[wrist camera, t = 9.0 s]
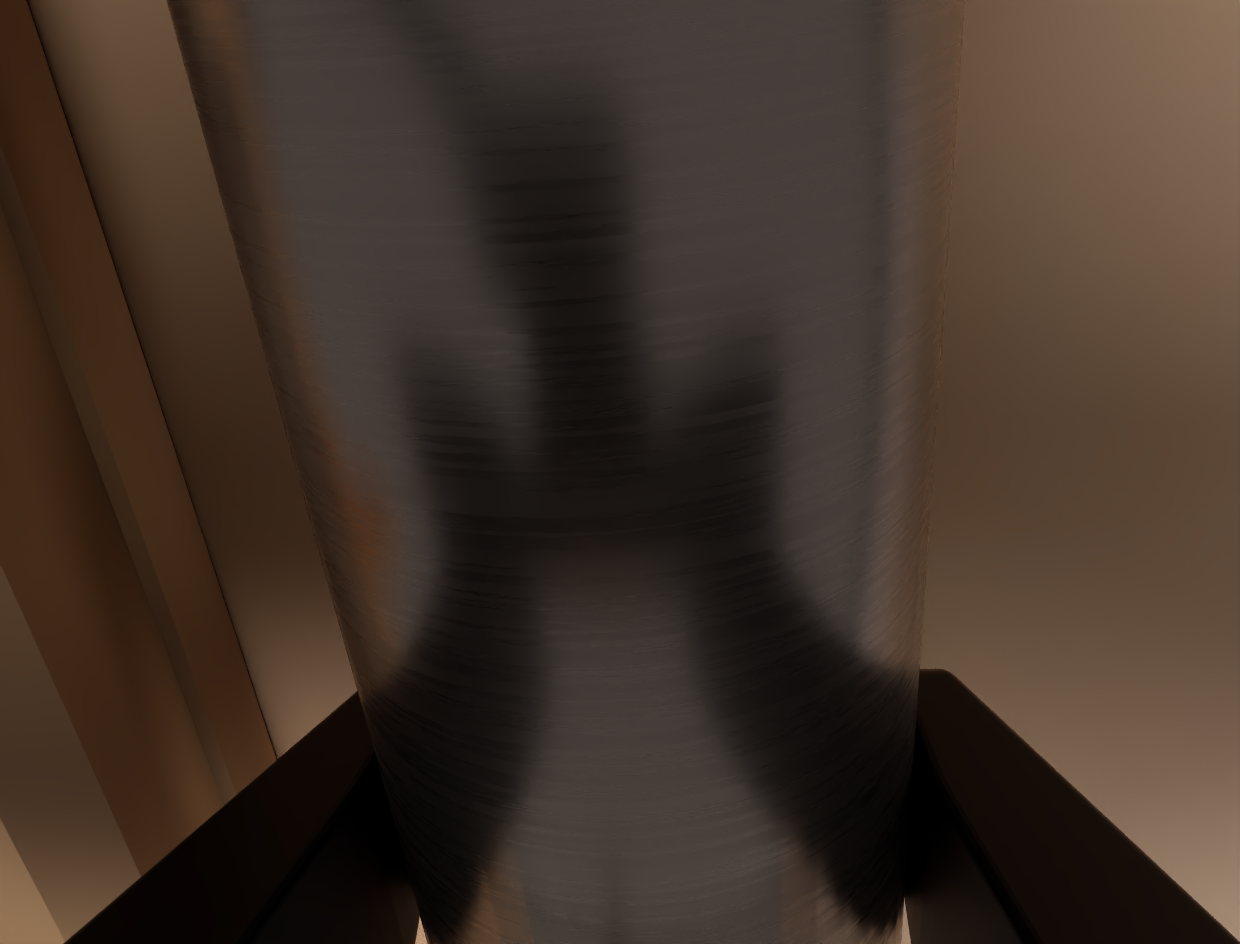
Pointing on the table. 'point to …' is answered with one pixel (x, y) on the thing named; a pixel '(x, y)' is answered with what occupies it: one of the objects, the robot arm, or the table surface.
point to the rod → (610, 431)
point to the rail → (93, 558)
